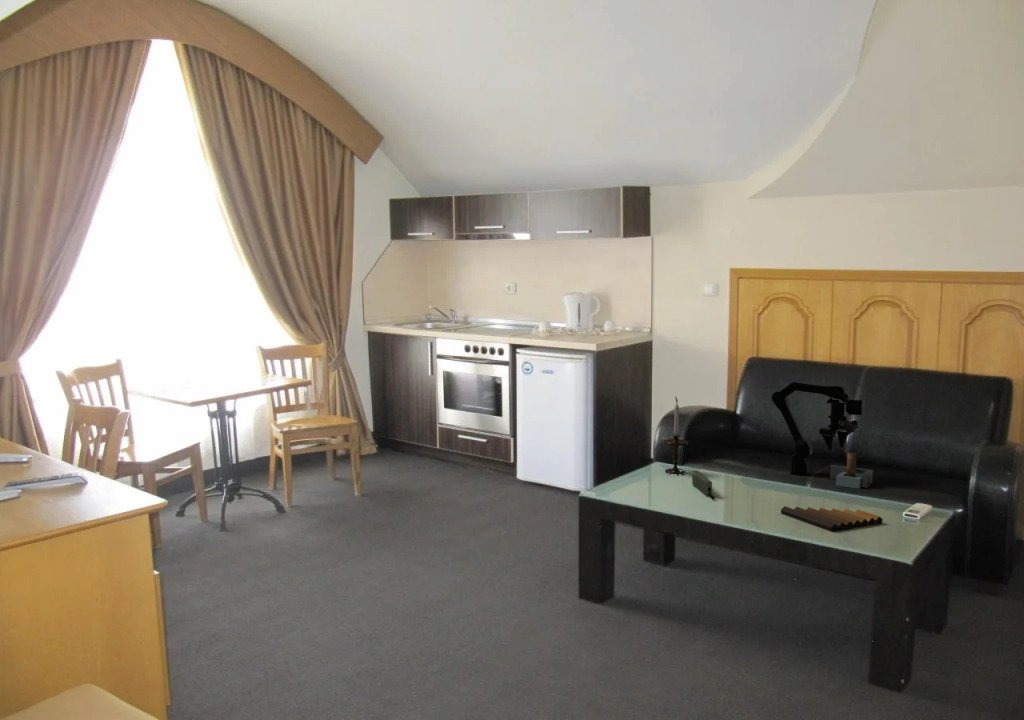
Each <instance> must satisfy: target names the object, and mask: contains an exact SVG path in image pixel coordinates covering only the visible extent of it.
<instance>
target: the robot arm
mask: <svg viewBox="0 0 1024 720" xmlns="http://www.w3.org/2000/svg"><path fill="white" fill-rule="evenodd" d="M795 391H796V392H803V393H804V392H805V393H809V394H810V393H811V394H818V395H819V394H820V395H824V396H826V397H829V398H828V400H827V401H825V403H827V404H830V415H828V419H830V420H829V424H827V426H823V427H820V428H819V431H818V434H819V435H820V436H822V439H823V441H824V443H825V444H826V446H827V449H828V451H832V450H833V444H834V440H835V438H836V437H837V439H838V442H839V448H844V446H845V444H846V440H847V438H848V436H850V434H853V433H855V432H856V430H857V429H859V423H858V422H859V421H858V420H855V419H854V420H851V421H850V420H848V417H847V415H845V413H847V414H848V415H849V416H850V415H852V416H853V415H854V416H863V414H864V400H863V399H851V398H850V396H849V395H848V394H847V389H846V387H845V386H844V385H843V384H829V385H828V384H826V385H823V384H816V383H809V382H802V381H798V380H793V381H791V383H790V384H788V385H787V386H785V387H784V388H783V389H779V390H776V391H775V392H773V393H772V395H771V401H772V403H773V405H775V407H776V408H777V409H778V410H779V412H780V413H781V415H782V416H783V419H784V420H785V423H786V426H787V427H788V430H789V432H790V434H791V436H792V438H793V440H794V441H793V442H794V448H795V451H796V452H795V453H794V454H793V455H792V456H791V467H790V471H791V472H790V473H789V474H790V475H796V476H803V477H804V476H806V475H808V474H809V470H810V468H809V465H810V464H809V461H808V460H807V459H808V458H810V456H811V455H812V453H813V448H814V446H813V445H812V443H811V440H810V438H807V439H806V438H805V436H804V435H803V434H802V430H801V429H800V427H799V425H798V422H797V421H796V417H795V416H794V414H793V411H792V410H791V407H790V401H789V396H790V395H791V394H793V393H794V392H795ZM836 434H837V435H836ZM807 473H808V474H807Z"/></svg>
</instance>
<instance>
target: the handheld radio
mask: <svg viewBox="0 0 1024 720" xmlns="http://www.w3.org/2000/svg"><path fill="white" fill-rule="evenodd" d="M691 484H692V486H693V487H694V488H695V489H697V491H699V492H700V493H701V494H702V495H703V496H705V497H706V498H711V499H712V500H715V499H716V496H715V495H713V481H712V480H710V479H709V478H707V476H705V475H704V474H702V473H701V472H700V471H698V470H692V472H691Z"/></svg>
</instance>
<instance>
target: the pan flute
mask: <svg viewBox="0 0 1024 720" xmlns="http://www.w3.org/2000/svg"><path fill="white" fill-rule="evenodd" d="M780 512H781V513H780V514H781V515H783V516H785V517H789V518H792V519H795V520H797V521H801V522H803V523H806V524H808V525H812V526H814V527H817V528H819V529H822V530H825V531H828V532H832V533H834V532H838V531H839V532H840V531H845V530H852V529H858V528H860V527H861V528H864V527H869V526H875V525H876V526H877V525H881V524H882V523H883V520H884V519H883V518H882V517H881V516H879V515H876V514H873V513H870V512H866V511H864V510H860V509H856V511H853V510H851V509H846V508H845V509H844V510H843V511H842V510H840V509H836V508H832V509H831V510H829V509H825V508H823V507H820V508H819V509H815V508H813V507H810V506H809V507H807V508H806V509H805V508H801V507H799V506H795V507H794V508H791V507H788V506H785V505H784V506H783V507H782V508H781V509H780Z"/></svg>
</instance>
